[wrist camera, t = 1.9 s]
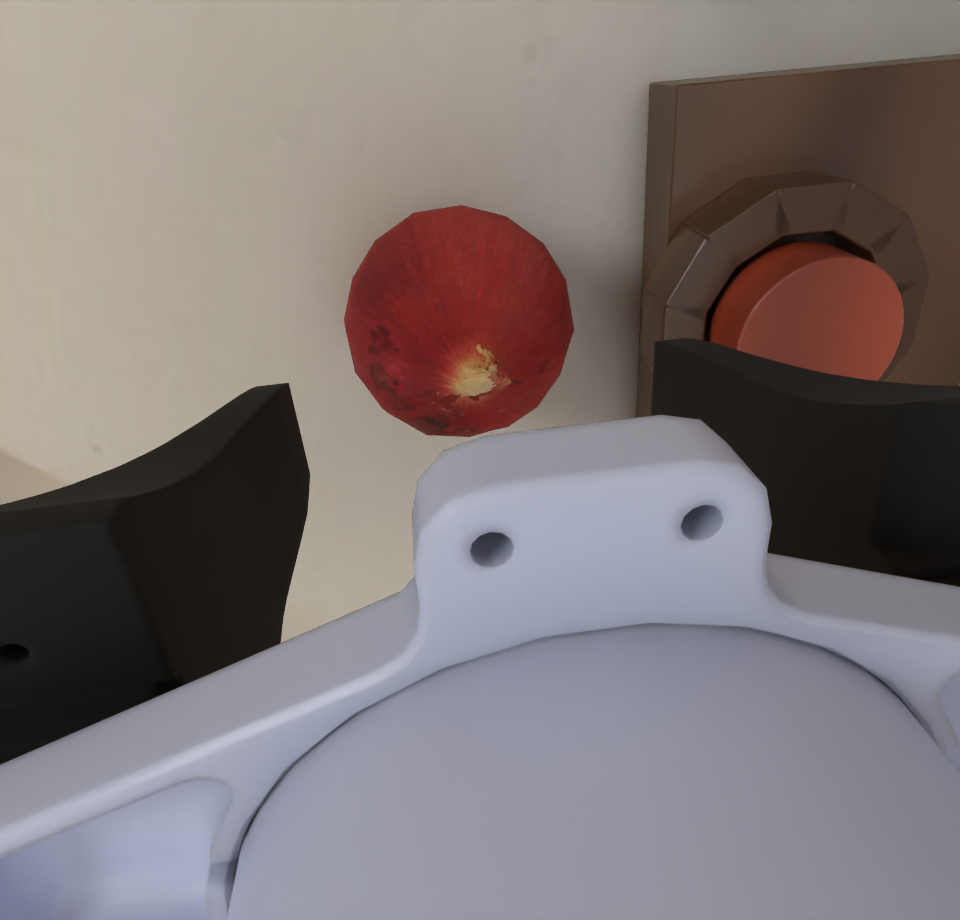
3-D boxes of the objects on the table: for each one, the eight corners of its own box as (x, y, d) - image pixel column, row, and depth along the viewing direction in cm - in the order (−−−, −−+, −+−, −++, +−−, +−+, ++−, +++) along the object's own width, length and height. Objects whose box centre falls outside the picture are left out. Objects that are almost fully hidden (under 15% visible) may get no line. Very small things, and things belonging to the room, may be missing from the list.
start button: (880, 232, 18) (924, 247, 17) (848, 386, 20) (884, 412, 19) (716, 249, 18) (746, 267, 16) (702, 403, 20) (727, 430, 19)
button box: (995, 50, 20) (1124, 47, 16) (899, 426, 26) (977, 483, 22) (626, 84, 19) (676, 89, 16) (616, 460, 25) (651, 524, 22)
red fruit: (473, 403, 23) (504, 547, 16) (319, 313, 21) (281, 434, 14) (579, 257, 21) (667, 351, 14) (420, 142, 19) (432, 187, 12)
